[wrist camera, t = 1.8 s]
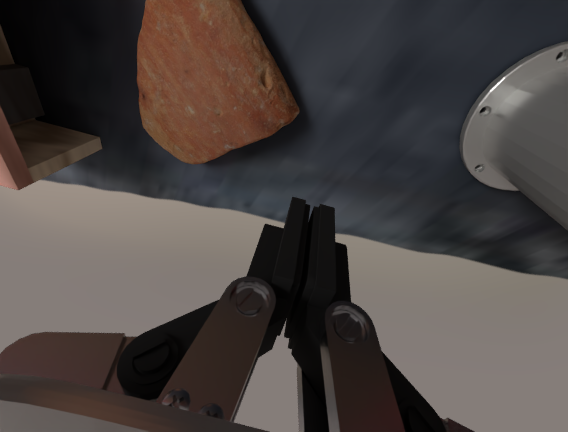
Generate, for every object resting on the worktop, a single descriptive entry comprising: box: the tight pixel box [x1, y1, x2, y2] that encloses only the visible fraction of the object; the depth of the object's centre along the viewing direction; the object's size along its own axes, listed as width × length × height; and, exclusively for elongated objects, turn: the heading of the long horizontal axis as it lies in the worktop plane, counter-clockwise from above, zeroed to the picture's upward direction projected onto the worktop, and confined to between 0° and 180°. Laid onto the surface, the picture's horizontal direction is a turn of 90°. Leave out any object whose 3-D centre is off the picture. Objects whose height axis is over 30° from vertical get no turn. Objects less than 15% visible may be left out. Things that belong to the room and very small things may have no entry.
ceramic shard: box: [137, 0, 299, 164], centre depth 24 cm, size 15×6×15 cm
